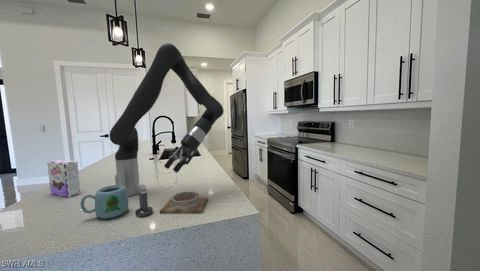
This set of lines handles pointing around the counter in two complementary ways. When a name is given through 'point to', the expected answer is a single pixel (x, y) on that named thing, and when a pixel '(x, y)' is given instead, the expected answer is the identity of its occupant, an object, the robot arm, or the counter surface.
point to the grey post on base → (143, 203)
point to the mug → (108, 202)
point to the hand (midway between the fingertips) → (170, 169)
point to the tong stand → (184, 203)
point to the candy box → (64, 178)
